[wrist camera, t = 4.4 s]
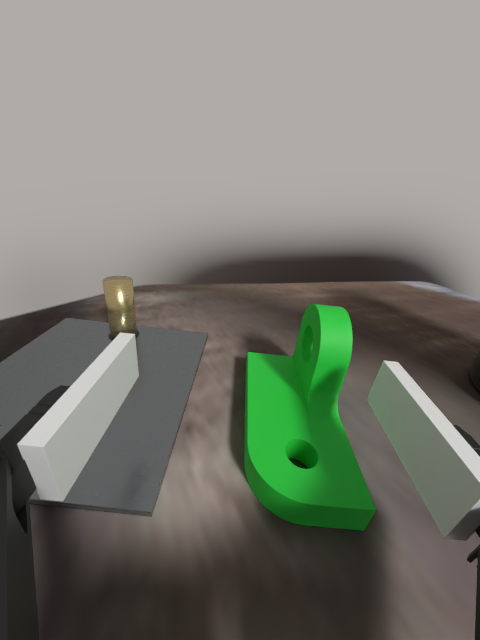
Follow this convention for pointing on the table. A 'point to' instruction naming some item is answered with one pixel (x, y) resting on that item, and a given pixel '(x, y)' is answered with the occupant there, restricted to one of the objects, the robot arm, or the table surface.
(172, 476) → the table surface
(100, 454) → the bolt plate
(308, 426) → the mechanical part
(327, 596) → the table surface
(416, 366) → the table surface
